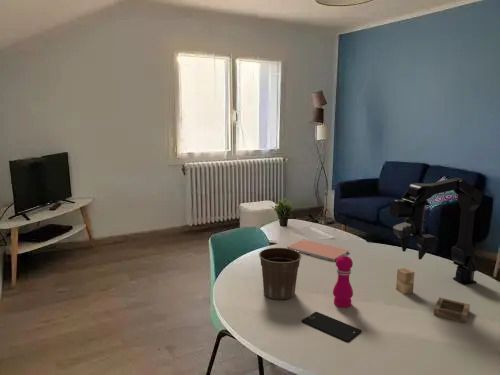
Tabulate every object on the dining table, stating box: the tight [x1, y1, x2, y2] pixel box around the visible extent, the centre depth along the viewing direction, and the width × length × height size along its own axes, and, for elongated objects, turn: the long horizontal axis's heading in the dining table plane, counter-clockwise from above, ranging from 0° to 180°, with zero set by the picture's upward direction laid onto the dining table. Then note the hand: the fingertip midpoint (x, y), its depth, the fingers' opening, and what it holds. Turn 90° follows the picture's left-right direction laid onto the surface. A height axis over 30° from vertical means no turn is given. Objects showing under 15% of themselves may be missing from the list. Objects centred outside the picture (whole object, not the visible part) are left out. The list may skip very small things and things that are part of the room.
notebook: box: [287, 239, 350, 262], centre depth 204 cm, size 27×17×2 cm, turn 50°
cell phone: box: [301, 311, 362, 343], centre depth 133 cm, size 9×18×1 cm, turn 46°
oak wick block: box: [395, 267, 416, 295], centre depth 158 cm, size 4×4×8 cm
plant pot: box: [258, 247, 302, 301], centre depth 155 cm, size 16×16×16 cm
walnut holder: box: [433, 296, 471, 324], centre depth 141 cm, size 10×10×2 cm
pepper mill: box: [332, 252, 354, 308], centre depth 147 cm, size 7×7×20 cm
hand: (411, 255), depth 157 cm, fingers open, 9 cm apart
